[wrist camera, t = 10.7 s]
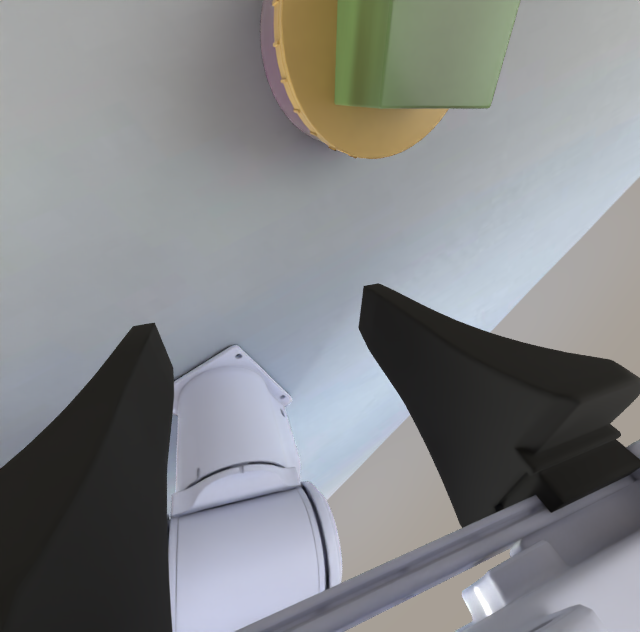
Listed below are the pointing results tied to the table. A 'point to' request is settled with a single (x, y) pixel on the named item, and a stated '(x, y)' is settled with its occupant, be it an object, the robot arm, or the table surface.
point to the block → (421, 52)
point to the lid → (319, 87)
